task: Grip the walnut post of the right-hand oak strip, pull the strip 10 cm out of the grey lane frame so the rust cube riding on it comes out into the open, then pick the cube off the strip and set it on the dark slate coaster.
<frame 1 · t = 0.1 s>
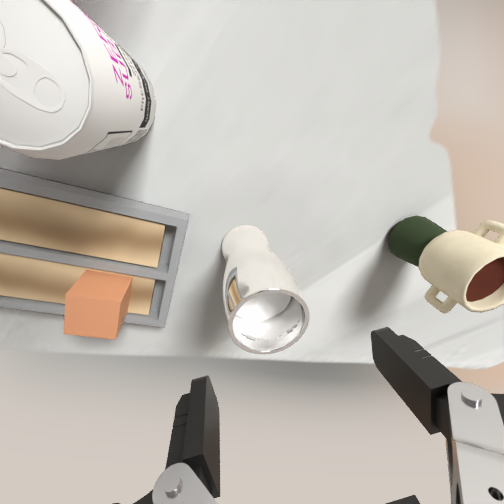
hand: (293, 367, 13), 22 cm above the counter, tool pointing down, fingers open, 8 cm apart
supplement can: (112, 99, 26), on the counter
rust cube: (108, 291, 32), point 2 cm above the counter, touching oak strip
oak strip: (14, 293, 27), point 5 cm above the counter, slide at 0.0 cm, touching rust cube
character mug: (405, 234, 38), on the counter
lane frame: (40, 243, 30), on the counter
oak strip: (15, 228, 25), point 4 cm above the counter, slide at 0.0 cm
beer glass: (244, 246, 34), on the counter
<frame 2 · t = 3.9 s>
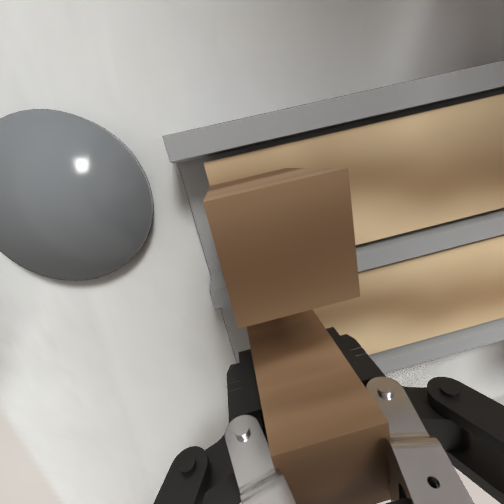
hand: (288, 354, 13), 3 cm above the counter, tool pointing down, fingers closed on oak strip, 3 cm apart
lane frame: (441, 222, 16), on the counter
slate coaster: (69, 201, 13), on the counter
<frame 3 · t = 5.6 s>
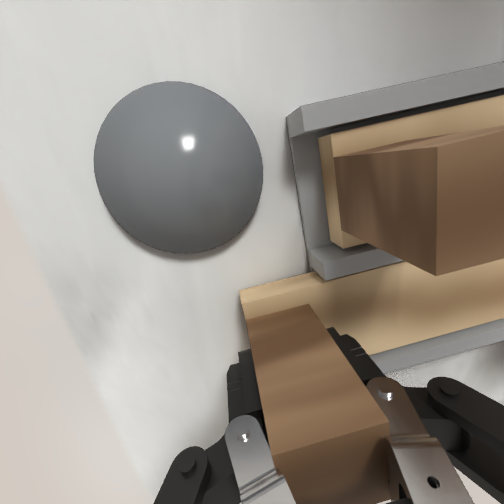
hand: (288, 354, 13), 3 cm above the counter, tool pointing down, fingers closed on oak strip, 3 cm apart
slate coaster: (183, 175, 13), on the counter
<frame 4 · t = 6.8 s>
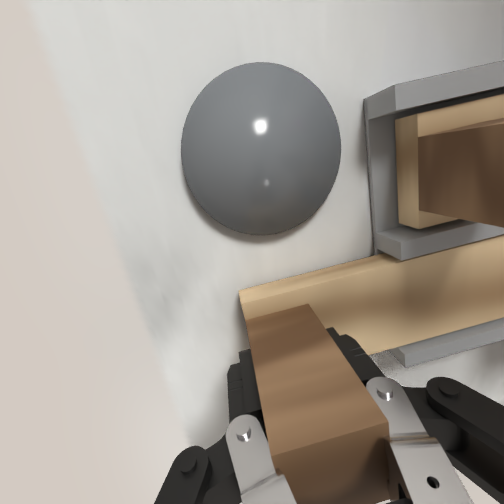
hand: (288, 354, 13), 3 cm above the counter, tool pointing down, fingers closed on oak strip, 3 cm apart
slate coaster: (261, 157, 14), on the counter
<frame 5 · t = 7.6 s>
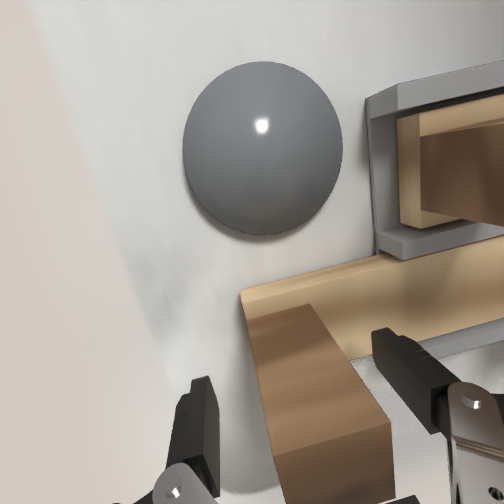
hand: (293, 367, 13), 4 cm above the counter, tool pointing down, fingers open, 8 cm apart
slate coaster: (263, 156, 14), on the counter
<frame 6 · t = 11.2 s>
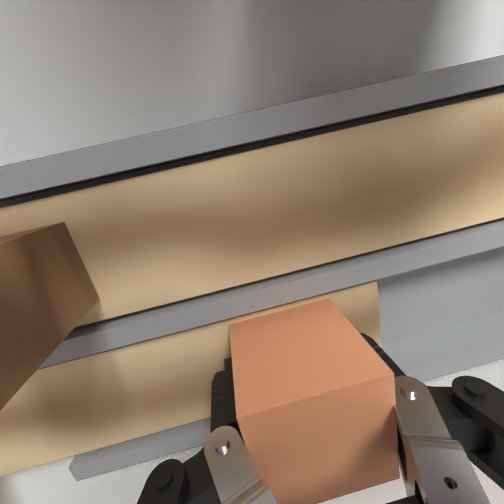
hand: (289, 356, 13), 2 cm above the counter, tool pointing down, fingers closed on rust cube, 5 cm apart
rust cube: (288, 352, 14), point 2 cm above the counter, touching gripper, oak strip
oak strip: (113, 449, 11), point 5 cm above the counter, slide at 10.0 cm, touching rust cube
lane frame: (302, 265, 14), on the counter
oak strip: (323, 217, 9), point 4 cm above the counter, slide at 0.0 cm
when the fingers open (3 cm above the counter, at t = 16.8 s): rust cube drops 2 cm, resting on slate coaster.
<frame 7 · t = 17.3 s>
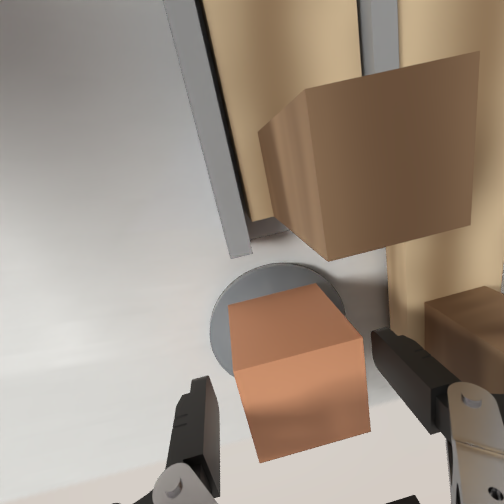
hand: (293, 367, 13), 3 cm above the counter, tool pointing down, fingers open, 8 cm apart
rust cube: (279, 331, 15), point 1 cm above the counter, touching slate coaster
slate coaster: (277, 325, 16), on the counter
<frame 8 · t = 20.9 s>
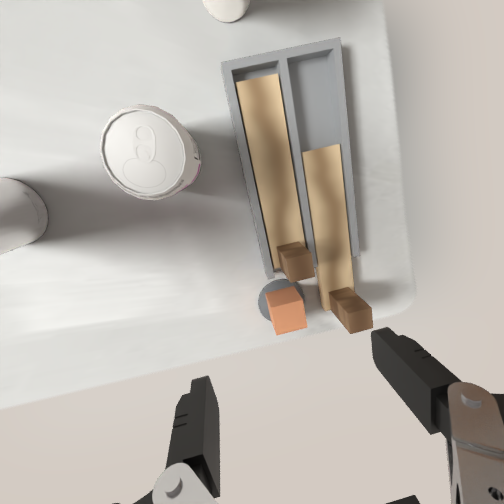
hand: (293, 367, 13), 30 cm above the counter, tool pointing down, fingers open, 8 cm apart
supplement can: (172, 159, 37), on the counter
rust cube: (281, 302, 45), point 1 cm above the counter, touching slate coaster
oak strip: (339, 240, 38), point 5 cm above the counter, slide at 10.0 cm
lane frame: (295, 175, 40), on the counter
slate coaster: (281, 300, 46), on the counter
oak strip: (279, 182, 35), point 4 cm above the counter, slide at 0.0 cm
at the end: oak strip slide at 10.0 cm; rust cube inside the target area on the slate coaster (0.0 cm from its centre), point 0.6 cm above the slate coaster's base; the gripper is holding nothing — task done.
